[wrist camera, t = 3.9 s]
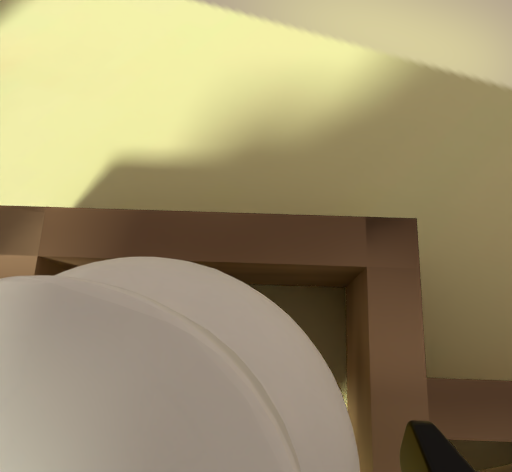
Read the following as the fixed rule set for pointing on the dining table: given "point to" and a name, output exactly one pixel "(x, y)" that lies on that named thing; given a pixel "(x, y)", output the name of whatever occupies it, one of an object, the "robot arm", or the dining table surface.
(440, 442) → the robot arm
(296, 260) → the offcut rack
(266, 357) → the supplement bottle
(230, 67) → the dining table surface
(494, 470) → the offcut stack
